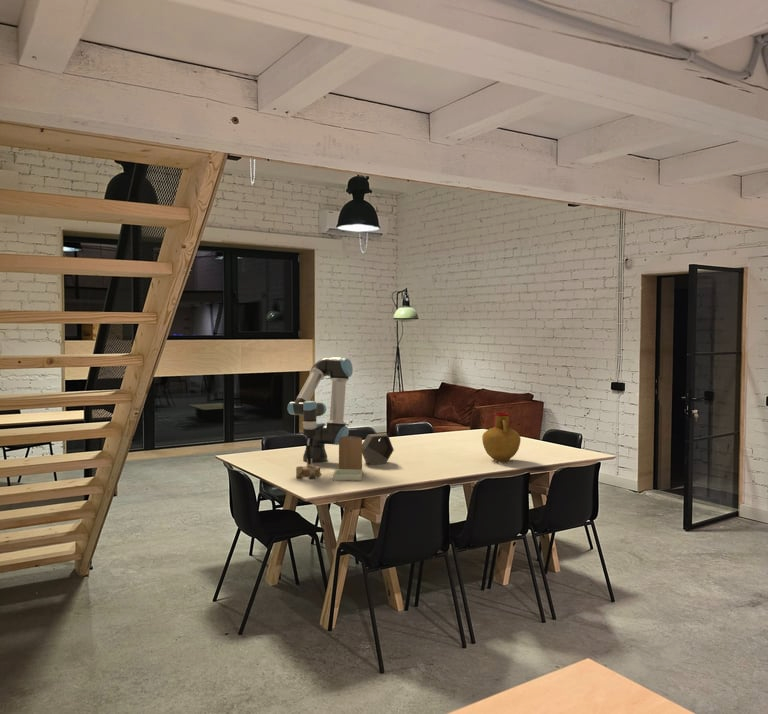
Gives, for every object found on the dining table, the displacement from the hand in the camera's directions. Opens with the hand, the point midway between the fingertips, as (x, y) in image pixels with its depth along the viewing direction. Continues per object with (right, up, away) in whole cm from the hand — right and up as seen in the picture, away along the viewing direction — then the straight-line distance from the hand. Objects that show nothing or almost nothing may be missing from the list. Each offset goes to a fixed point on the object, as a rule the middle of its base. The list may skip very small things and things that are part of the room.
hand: (309, 469), depth 378 cm
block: (+23, -2, +3) cm, 23 cm away
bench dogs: (0, -2, -14) cm, 15 cm away
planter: (+38, -1, +29) cm, 48 cm away
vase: (+117, -2, +41) cm, 123 cm away
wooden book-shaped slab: (0, -2, -5) cm, 5 cm away
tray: (+23, -2, -12) cm, 26 cm away
